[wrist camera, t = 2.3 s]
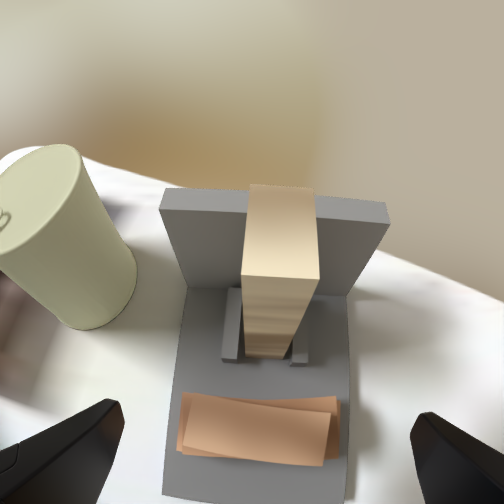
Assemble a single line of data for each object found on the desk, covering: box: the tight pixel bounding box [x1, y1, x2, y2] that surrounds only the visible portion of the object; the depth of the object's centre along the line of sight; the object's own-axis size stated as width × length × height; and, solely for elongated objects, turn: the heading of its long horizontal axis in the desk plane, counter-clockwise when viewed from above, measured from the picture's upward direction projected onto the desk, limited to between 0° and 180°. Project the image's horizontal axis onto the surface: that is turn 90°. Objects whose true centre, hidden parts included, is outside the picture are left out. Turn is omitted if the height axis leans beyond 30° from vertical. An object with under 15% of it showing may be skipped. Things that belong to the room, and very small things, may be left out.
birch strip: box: [241, 184, 320, 359], centre depth 16 cm, size 4×2×12 cm, turn 176°
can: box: [0, 144, 137, 330], centre depth 19 cm, size 9×9×12 cm
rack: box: [159, 188, 390, 504], centre depth 15 cm, size 18×12×10 cm
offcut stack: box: [176, 392, 341, 466], centre depth 15 cm, size 4×10×4 cm, turn 86°
